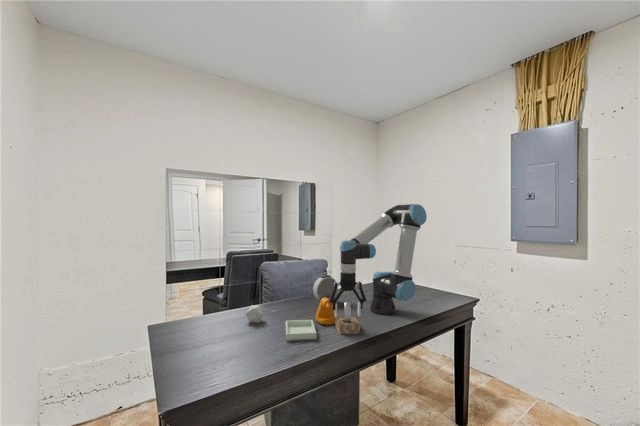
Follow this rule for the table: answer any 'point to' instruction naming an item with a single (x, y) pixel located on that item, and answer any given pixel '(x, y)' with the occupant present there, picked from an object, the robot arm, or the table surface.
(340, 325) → the bore block
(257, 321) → the die
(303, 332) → the tray
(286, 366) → the table surface
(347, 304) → the cylinder
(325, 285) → the alarm clock
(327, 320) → the bracket
